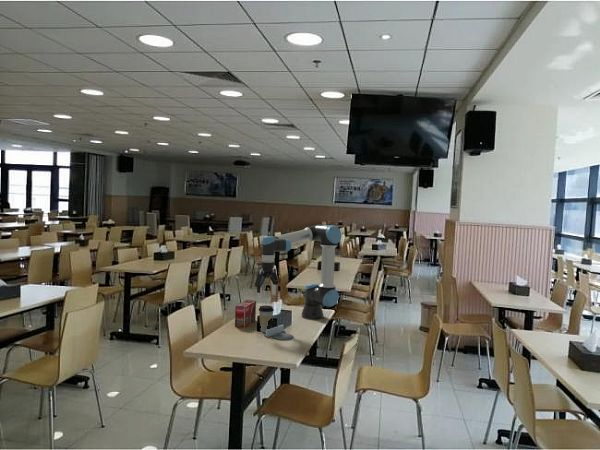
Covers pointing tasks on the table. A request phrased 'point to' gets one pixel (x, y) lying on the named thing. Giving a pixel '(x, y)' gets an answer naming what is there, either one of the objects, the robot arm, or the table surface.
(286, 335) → the coaster
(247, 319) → the ice cream box
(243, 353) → the table surface
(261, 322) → the coffee cup
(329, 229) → the robot arm
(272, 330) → the grey bar handle
